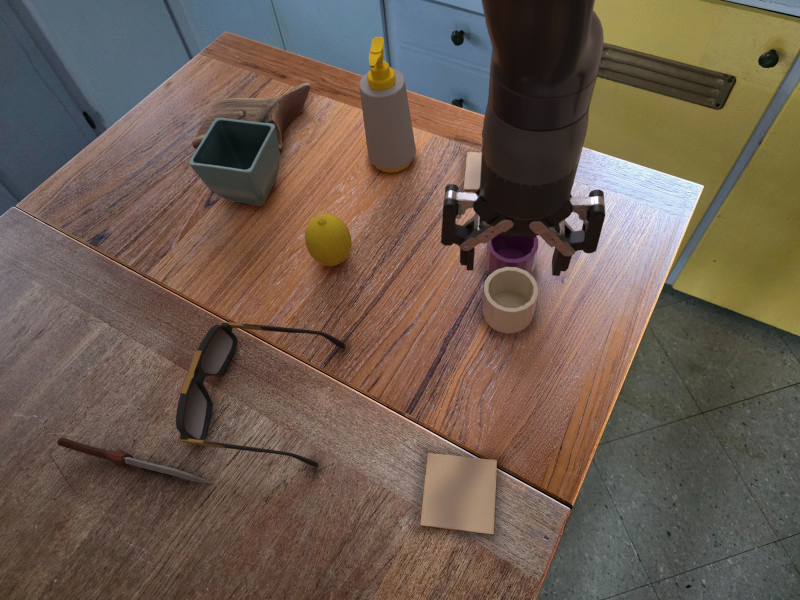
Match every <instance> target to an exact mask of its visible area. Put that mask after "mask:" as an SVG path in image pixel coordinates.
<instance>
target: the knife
mask: <svg viewBox="0 0 800 600" xmlns="http://www.w3.org/2000/svg"><path fill="white" fill-rule="evenodd" d="M56 443H57V444H56V445H58V446H59V447H62V448H65V449H69V450H73V451H76V452H79V453H83V454H86V455H90V456H92V457H96V458H100V459H103V460H109V461H110V462H111V463H112V464H114V465H115V466H118V467H124V468H131V467H134V466H135V467H137V468H142V469H146V470H149V471H154V472H158V473H162V474H165V475H170V476H173V477H177V478H180V479H183V480H187V481H191V482H197V483H205V484H211V485H212V484H213V485H216V484H215V482H212V481H210V480H208V479H204V478H202V477H199V476H197V475H195V474H193V473H190V472H187V471H184V470H182V469H177V468H174V467H170V466H167V465H161V464H158V463H153V462H149V461H145V460H142V459H139V458H135V457H134V456H133V455H132V454H131V453H128V452H127V451H125V450H120V449H119V450H107V449H103V448H99V447H97V446H96V447H95V446H92V445H88V444H85V443H82V442H78V441H76V440H72V439H68V438H65V437H59V438H58V439H57V441H56Z"/></svg>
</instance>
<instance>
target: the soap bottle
mask: <svg viewBox="0 0 800 600" xmlns="http://www.w3.org/2000/svg"><path fill="white" fill-rule="evenodd" d="M384 45H385V39H384V38H383V37H382V36H375V37H373V38H372V40H371V45H370V49H369V53H368V63H369V67H370V69H369V70H368V72H366V73H365V74H364V75H363V76H361V78H360V80H359V82H358V83H359V95H360V102H361V110H362V120H363V125H364V133H365V140H366V141H365V142H366V151H367V158H368V160H369V161H370V163H371V164H372V165H374V166H375V167H376V169H378V170H380V171H382V172H383V173H392V174H393V173H399V172H401V171H403V170H405V169H407V167H409V166H410V165H411V163H412V161H413V160H414V158H415V155H416V153H417V148H416V141H415V136H414V131H413V130H414V128H413V122H412V117H411V111H410V105H409V103H410V102H409V99H408V91H407V86H406V79H405V76H404V74H403V73H402V72H401V71H399V70H398V69H395V68H393V67H391V66H390V64H389V63H388V62H387V61H385V60H384V59H385V52H384Z"/></svg>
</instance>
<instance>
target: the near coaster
mask: <svg viewBox="0 0 800 600" xmlns="http://www.w3.org/2000/svg"><path fill="white" fill-rule="evenodd" d="M497 468H498V459H489V458H481V457H480V458H479V457H469V456H461V455H451V454H443V453H433V452H428V453H427V458H426V466H425V477H424V483H423V484H424V485H423V494H422V495H423V496H422V504H421V512H420V513H421V514H420V523H419V525H420V526H421V527H428V528H435V529H444V530H451V531H458V532H467V533H476V534H484V535H492V536H494V535H495V518H496V517H495V516H496V515H495V514H496V496H497V495H496V493H497V470H498V469H497Z"/></svg>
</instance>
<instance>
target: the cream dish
mask: <svg viewBox="0 0 800 600" xmlns="http://www.w3.org/2000/svg"><path fill="white" fill-rule="evenodd" d="M538 297H539V285H538V283H537V281H536V279H535V277H534V276H533V275H530V274H529V273H528V272H526V271H525V270H522V269H520V268H517V267H504V268H501V269H497V270H496V271H494V272H493V273H491V274H490V275H489V276H487V278H486V279H485V281H484V284H483V299H482V316H483V319H484V322H486V324H487V325H488V326H489V327H490V328H491V329H493V330H495V331H496V332H498V333H503V334H516V333H519V332H521V331H524V330H525V329H526V328H528V327H529V325H530V324H531V322H532V320H533V317H534V315H535V311H536V305H537V302H538Z"/></svg>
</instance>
